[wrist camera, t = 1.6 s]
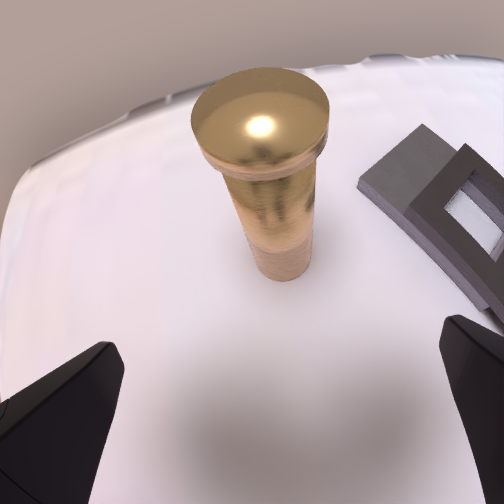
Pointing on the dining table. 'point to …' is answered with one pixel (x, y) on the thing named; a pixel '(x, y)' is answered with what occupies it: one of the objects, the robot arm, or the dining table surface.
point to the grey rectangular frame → (443, 209)
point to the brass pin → (267, 158)
